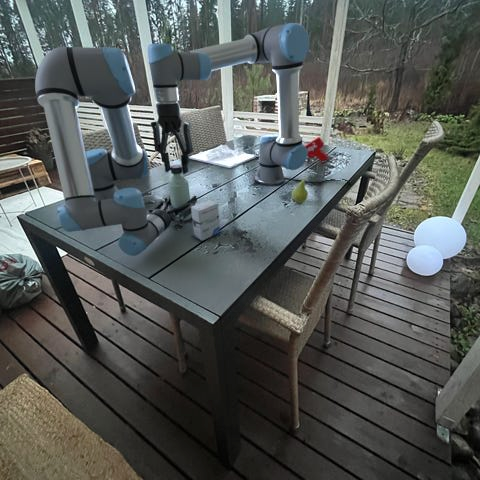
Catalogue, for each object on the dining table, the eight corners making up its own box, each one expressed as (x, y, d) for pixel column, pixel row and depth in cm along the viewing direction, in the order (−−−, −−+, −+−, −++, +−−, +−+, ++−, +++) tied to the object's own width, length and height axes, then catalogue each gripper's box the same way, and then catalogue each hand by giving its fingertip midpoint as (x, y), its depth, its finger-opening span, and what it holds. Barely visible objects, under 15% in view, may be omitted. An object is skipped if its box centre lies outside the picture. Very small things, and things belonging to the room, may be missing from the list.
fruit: (288, 200, 123) (290, 174, 116) (302, 197, 125) (305, 172, 119) (296, 206, 118) (299, 179, 111) (310, 203, 120) (314, 177, 114)
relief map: (230, 168, 162) (230, 159, 159) (189, 158, 180) (188, 150, 177) (256, 157, 180) (256, 149, 177) (216, 149, 198) (215, 142, 195)
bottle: (195, 213, 113) (189, 166, 102) (187, 222, 107) (181, 172, 96) (178, 211, 114) (171, 164, 104) (170, 219, 108) (162, 170, 98)
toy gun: (332, 156, 168) (319, 135, 164) (331, 158, 165) (319, 137, 161) (306, 172, 178) (294, 152, 174) (305, 174, 175) (293, 154, 171)
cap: (178, 169, 103) (177, 163, 102) (184, 172, 101) (184, 166, 99) (169, 172, 101) (168, 166, 99) (175, 175, 98) (174, 168, 97)
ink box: (211, 227, 103) (209, 198, 96) (220, 232, 100) (219, 203, 93) (193, 236, 98) (190, 206, 91) (202, 241, 95) (199, 210, 88)
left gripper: (132, 228, 97) (166, 202, 116) (183, 237, 92) (210, 208, 110) (128, 209, 93) (163, 186, 112) (181, 217, 88) (208, 191, 106)
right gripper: (134, 103, 87) (148, 172, 100) (190, 104, 83) (197, 177, 95) (147, 100, 93) (158, 166, 106) (199, 101, 89) (204, 170, 101)
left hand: (186, 197), depth 111 cm, fingers closed on bottle, 8 cm apart
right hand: (176, 171), depth 100 cm, fingers open, 6 cm apart
